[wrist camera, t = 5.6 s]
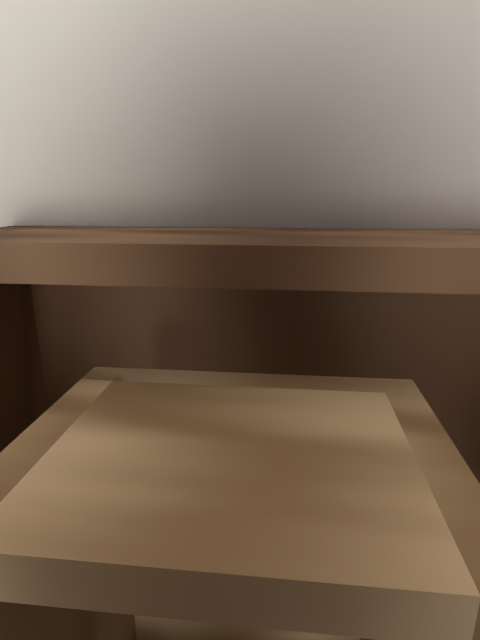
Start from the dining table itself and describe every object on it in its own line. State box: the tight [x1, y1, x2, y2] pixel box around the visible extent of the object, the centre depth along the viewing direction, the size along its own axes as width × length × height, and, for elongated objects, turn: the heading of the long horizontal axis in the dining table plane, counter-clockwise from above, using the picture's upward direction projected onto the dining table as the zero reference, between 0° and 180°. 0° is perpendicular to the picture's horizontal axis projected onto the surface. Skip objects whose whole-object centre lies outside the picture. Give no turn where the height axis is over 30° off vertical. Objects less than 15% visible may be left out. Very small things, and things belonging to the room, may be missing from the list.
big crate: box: [0, 226, 480, 484], centre depth 11 cm, size 14×12×4 cm
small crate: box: [0, 367, 480, 640], centre depth 7 cm, size 6×7×4 cm
